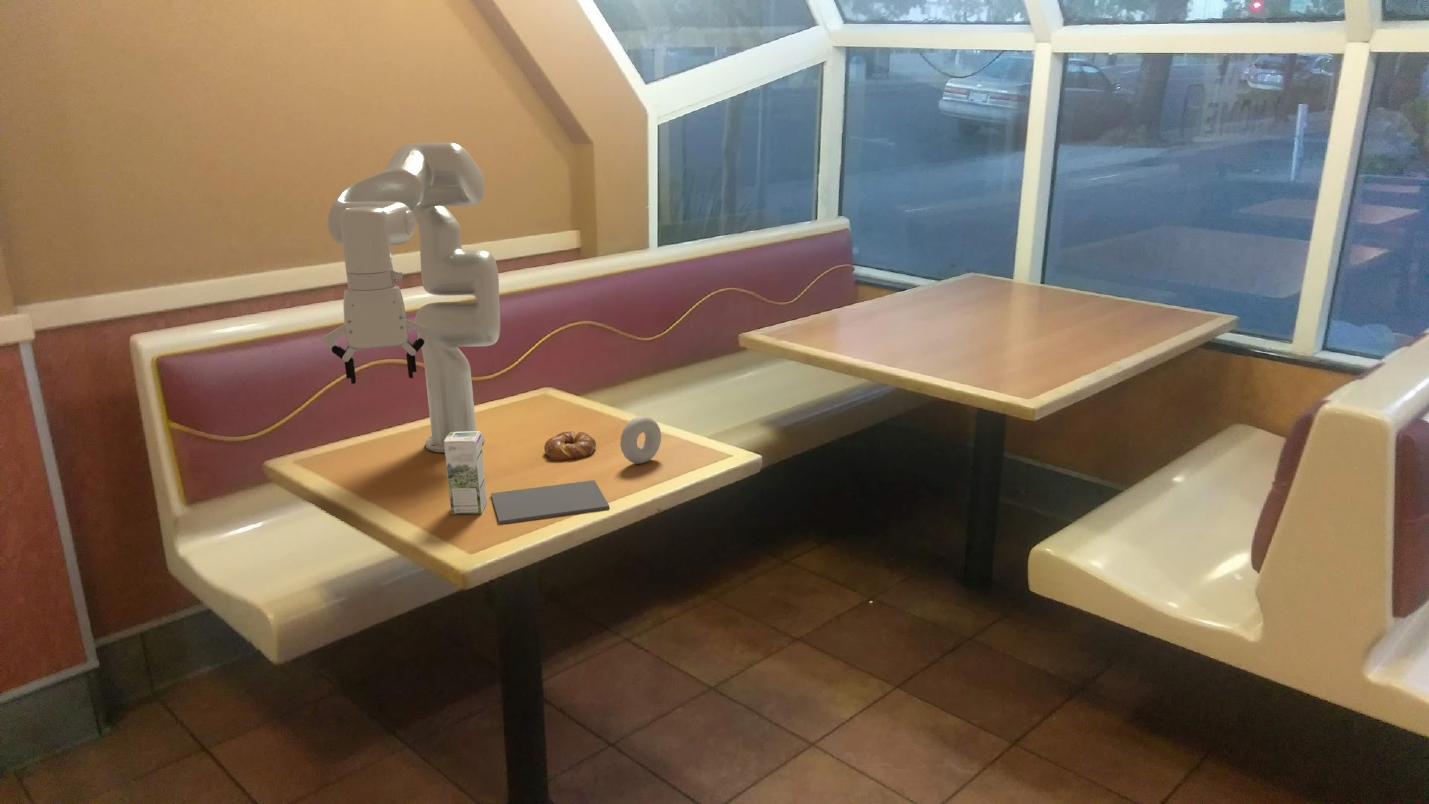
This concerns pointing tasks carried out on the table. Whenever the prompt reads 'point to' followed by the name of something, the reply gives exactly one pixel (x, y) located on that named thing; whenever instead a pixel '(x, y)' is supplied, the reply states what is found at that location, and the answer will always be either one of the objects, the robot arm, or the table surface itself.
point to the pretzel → (569, 446)
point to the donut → (631, 436)
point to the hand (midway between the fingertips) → (382, 379)
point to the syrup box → (465, 472)
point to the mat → (548, 501)
